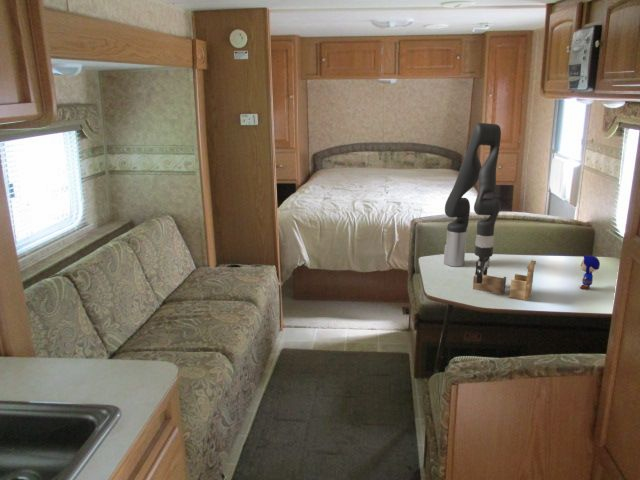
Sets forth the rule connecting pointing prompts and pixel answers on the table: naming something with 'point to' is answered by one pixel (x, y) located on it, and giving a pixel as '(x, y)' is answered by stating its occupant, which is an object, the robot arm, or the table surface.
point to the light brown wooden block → (490, 284)
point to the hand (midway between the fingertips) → (481, 280)
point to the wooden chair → (522, 284)
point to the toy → (589, 270)
